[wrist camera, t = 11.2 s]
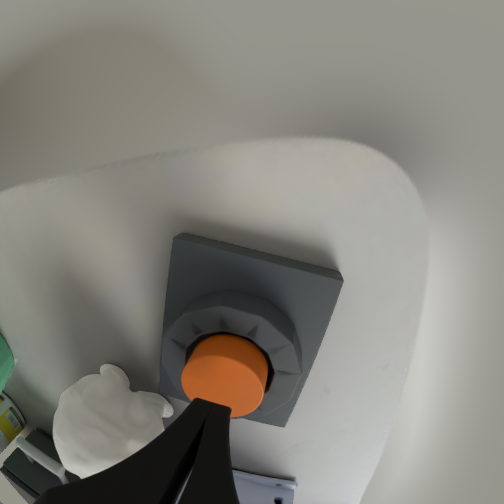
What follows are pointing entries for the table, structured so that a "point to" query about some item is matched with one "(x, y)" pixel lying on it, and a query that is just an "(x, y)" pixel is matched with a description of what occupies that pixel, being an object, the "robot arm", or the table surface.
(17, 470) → the drawer
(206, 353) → the button
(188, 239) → the control block
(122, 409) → the white animal figurine
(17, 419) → the pill bottle
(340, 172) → the table surface
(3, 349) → the mug
